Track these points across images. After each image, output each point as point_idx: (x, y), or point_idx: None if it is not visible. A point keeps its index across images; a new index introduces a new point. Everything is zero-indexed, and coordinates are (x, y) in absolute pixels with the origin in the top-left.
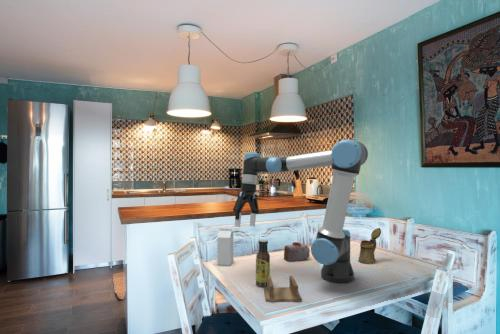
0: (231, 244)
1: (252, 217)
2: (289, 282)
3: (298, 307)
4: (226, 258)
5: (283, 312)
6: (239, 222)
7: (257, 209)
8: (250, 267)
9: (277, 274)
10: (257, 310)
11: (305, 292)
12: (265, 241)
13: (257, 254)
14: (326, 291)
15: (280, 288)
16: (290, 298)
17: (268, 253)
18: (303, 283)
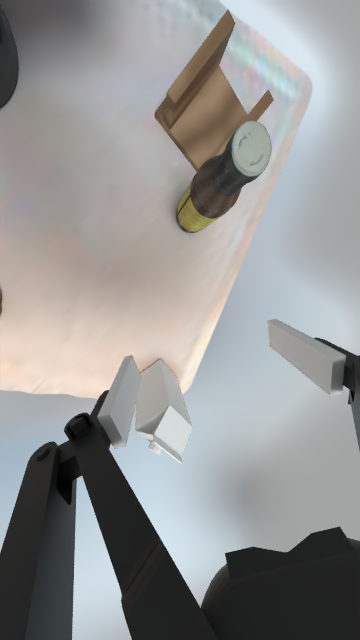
0: (153, 396)
1: (127, 404)
2: (172, 119)
3: (235, 38)
4: (167, 372)
5: (273, 60)
6: (290, 328)
7: (49, 469)
8: (131, 323)
9: (112, 238)
10: (291, 124)
11: (152, 78)
12: (260, 123)
13: (237, 196)
14: (96, 9)
15: (191, 147)
16: (222, 77)
17: (213, 158)
18: (104, 127)
